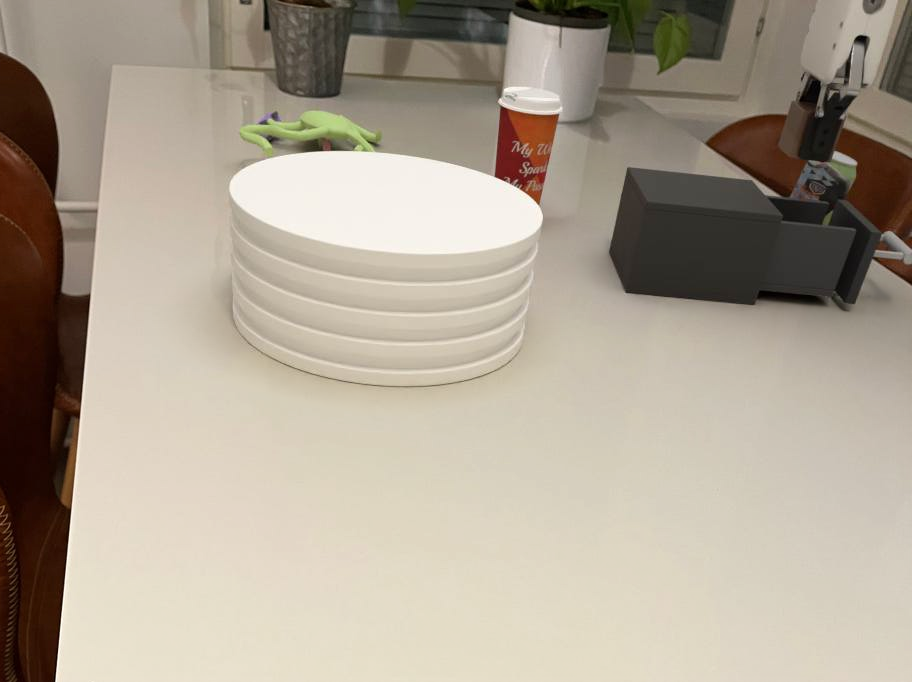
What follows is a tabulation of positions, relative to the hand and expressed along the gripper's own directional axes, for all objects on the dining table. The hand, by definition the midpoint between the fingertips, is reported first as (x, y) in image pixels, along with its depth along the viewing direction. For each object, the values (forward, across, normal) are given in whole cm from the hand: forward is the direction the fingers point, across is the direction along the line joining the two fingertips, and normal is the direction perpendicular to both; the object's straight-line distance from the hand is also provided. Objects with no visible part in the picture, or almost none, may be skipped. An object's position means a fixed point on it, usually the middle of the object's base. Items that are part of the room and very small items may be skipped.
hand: (805, 150), depth 105 cm
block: (0, 0, 0) cm, 0 cm away
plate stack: (+15, -20, +44) cm, 50 cm away
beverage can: (+15, +13, -8) cm, 21 cm away
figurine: (+15, +32, +54) cm, 64 cm away
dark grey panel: (+14, 0, -5) cm, 15 cm away
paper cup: (+15, +16, +28) cm, 35 cm away
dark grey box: (+15, 0, +10) cm, 18 cm away
